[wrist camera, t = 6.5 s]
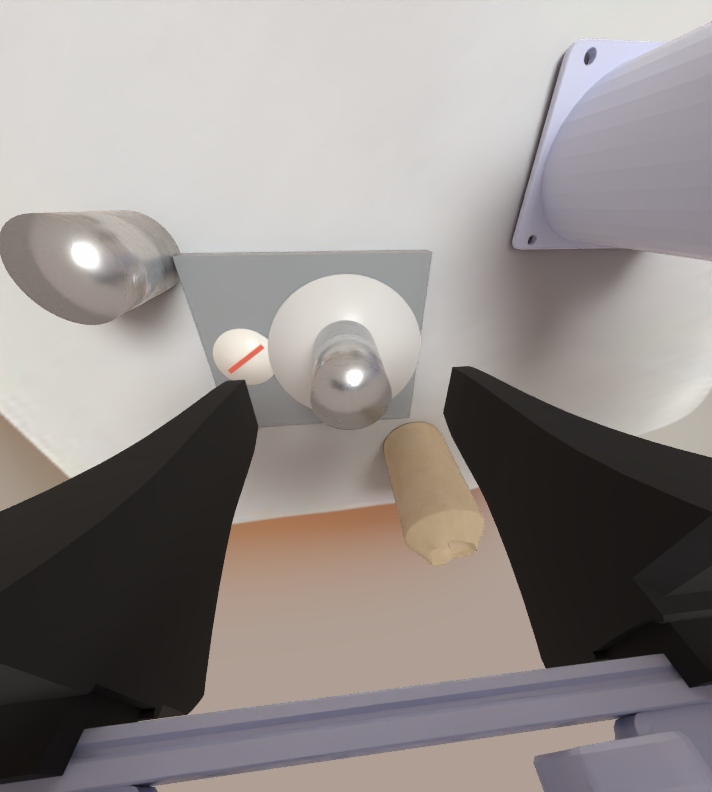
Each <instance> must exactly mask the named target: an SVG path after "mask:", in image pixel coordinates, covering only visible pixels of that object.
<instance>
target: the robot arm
mask: <svg viewBox="0 0 712 792" xmlns="http://www.w3.org/2000/svg"><path fill="white" fill-rule="evenodd" d="M586 52H589V55H590V57H589V61H588V63H587V65H585V63H584V56H585V54H586ZM531 235H532V236H533V239H532V241H531V242H530V243H529V244H528V239H529V237H530V236H531ZM512 245H513V247H514V248H515V249H520V250H536V249H601V248H627V249H633V250H640V251H647V252H654V253H660V254H667V255H674V256H681V257H687V258H694V259H701V260H708V261H712V22H710V23H708V24H706V25H704V26H701V27H699V28H697V29H695V30H693V31H691V32H689V33H687V34H684V35H682V36H680V37H678V38H676V39H674V40H672V41H670V42H652V41H629V40H606V39H580V40H578V41H577V42H575V43H574V44H572V45H571V46H570V47H569V48H568V50H567V51H566V53H565V55H564V58H563V61H562V64H561V68H560V72H559V75H558V79H557V82H556V86H555V89H554V93H553V97H552V100H551V104H550V107H549V111H548V114H547V118H546V122H545V125H544V129H543V132H542V136H541V139H540V143H539V147H538V150H537V154H536V157H535V161H534V164H533V168H532V172H531V175H530V179H529V182H528V186H527V189H526V193H525V197H524V200H523V204H522V207H521V211H520V214H519V218H518V222H517V225H516V229H515V232H514V236H513V240H512ZM443 414H444V417H445V420H446V422H447V425H448V428H449V431H450V433H451V436H452V438H453V440H454V442H455V443H456V445H457V447H458V449H459V451H460V453H461V455H462V457H463V458H464V460H465V462H466V464H467V466H468V468H469V469H470V471H471V473H472V475H473V477H474V478H475V480H476V482H477V484H478V486H479V488H480V490H481V492H482V494H483V496H484V498H485V500H486V502H487V504H488V507H489V509H490V511H491V514H492V516H493V518H494V521H495V524H496V526H497V528H498V531H499V534H500V536H501V539H502V542H503V544H504V547H505V549H506V552H507V555H508V557H509V560H510V563H511V566H512V568H513V571H514V574H515V577H516V580H517V583H518V585H519V588H520V591H521V594H522V597H523V600H524V603H525V606H526V610H527V613H528V616H529V619H530V622H531V626H532V629H533V632H534V635H535V639H536V642H537V645H538V649H539V652H540V655H541V659H542V661H543V663H544V665H545V668H546V669H540V670H532V671H524V672H517V673H509V674H502V675H495V676H487V677H479V678H471V679H463V680H456V681H449V682H440V683H433V684H426V685H418V686H411V687H403V688H395V689H387V690H379V691H372V692H364V693H357V694H349V695H341V696H334V697H326V698H318V699H311V700H303V701H295V702H288V703H280V704H273V705H265V706H257V707H250V708H242V709H234V710H227V711H219V712H212V713H204V714H196V715H189V716H181V715H187V714H188V713H189V712H191V711H192V710H193V709H194V707H195V706H196V705H197V704H198V703H199V701H200V700H201V698H202V697H203V695H204V690H205V681H206V673H207V666H208V658H209V651H210V644H211V636H212V629H213V623H214V617H215V610H216V603H217V598H218V591H219V586H220V580H221V575H222V569H223V564H224V559H225V553H226V548H227V544H228V539H229V534H230V530H231V525H232V521H233V517H234V514H235V510H236V507H237V504H238V501H239V497H240V494H241V491H242V488H243V485H244V482H245V479H246V476H247V473H248V470H249V466H250V463H251V460H252V457H253V453H254V450H255V444H256V438H257V432H258V423H257V419H256V416H255V412H254V409H253V405H252V402H251V399H250V395H249V392H248V388H247V385H246V381H245V380H230V381H225V382H224V383H222V384H220V385H219V386H217V387H216V388H215V389H213V390H212V391H210V392H209V393H208V394H206V395H205V396H204V397H202V398H201V399H200V400H198V401H197V402H196V403H194V404H193V405H191V406H190V407H189V408H187V409H186V410H185V411H183V412H182V413H181V414H179V415H178V416H176V417H175V418H173V419H172V420H170V421H169V422H167V423H166V424H165V425H163V426H162V427H160V428H159V429H157V430H156V431H154V432H153V433H151V434H150V435H148V436H147V437H145V438H144V439H142V440H140V441H139V442H137V443H135V444H134V445H132V446H130V447H129V448H127V449H125V450H124V451H122V452H120V453H118V454H117V455H115V456H113V457H111V458H110V459H108V460H106V461H104V462H102V463H101V464H99V465H97V466H95V467H93V468H91V469H89V470H87V471H85V472H83V473H81V474H79V475H77V476H75V477H73V478H71V479H69V480H67V481H65V482H63V483H61V484H59V485H57V486H55V487H53V488H51V489H49V490H47V491H45V492H43V493H41V494H38V495H36V496H34V497H32V498H30V499H27V500H25V501H23V502H21V503H19V504H17V505H14V506H12V507H10V508H7V509H5V510H3V511H0V792H157V790H156V788H155V787H151V786H156V785H163V784H170V783H177V782H184V781H191V780H197V779H204V778H212V777H218V776H225V775H232V774H239V773H246V772H253V771H260V770H266V769H273V768H281V767H287V766H294V765H301V764H307V763H314V762H322V761H329V760H336V759H343V758H350V757H356V756H363V755H370V754H377V753H384V752H391V751H397V750H405V749H411V748H418V747H425V746H432V745H439V744H445V743H453V742H460V741H466V740H474V739H480V738H488V737H494V736H501V735H508V734H515V733H522V732H529V731H535V730H542V729H550V728H557V727H563V726H570V725H577V724H584V723H591V722H597V721H605V720H612V719H617V720H616V721H615V725H614V731H615V740H614V741H609V742H603V743H597V744H592V745H585V746H579V747H576V748H573V749H568V750H564V751H559V752H554V753H549V754H544V755H538V756H535V758H534V765H535V768H536V771H537V774H538V776H539V779H540V782H541V784H542V787H543V790H544V792H712V458H711V457H707V456H703V455H699V454H696V453H691V452H688V451H684V450H680V449H676V448H673V447H669V446H666V445H662V444H659V443H655V442H652V441H649V440H645V439H642V438H639V437H636V436H633V435H629V434H626V433H623V432H620V431H617V430H614V429H611V428H608V427H605V426H602V425H600V424H597V423H594V422H592V421H589V420H586V419H584V418H581V417H578V416H576V415H573V414H571V413H568V412H566V411H564V410H561V409H559V408H557V407H554V406H552V405H550V404H548V403H545V402H543V401H541V400H539V399H537V398H535V397H533V396H530V395H528V394H526V393H524V392H522V391H520V390H518V389H516V388H514V387H512V386H510V385H508V384H506V383H504V382H502V381H500V380H498V379H496V378H495V377H493V376H491V375H489V374H486V373H484V372H482V371H480V370H478V369H476V368H473V367H470V366H465V367H453V368H452V373H451V378H450V382H449V387H448V392H447V397H446V402H445V407H444V411H443ZM173 716H181V717H173ZM165 717H173V718H166V719H158V720H151V719H157V718H165ZM143 720H151V721H143ZM138 721H143V722H138Z"/></svg>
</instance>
